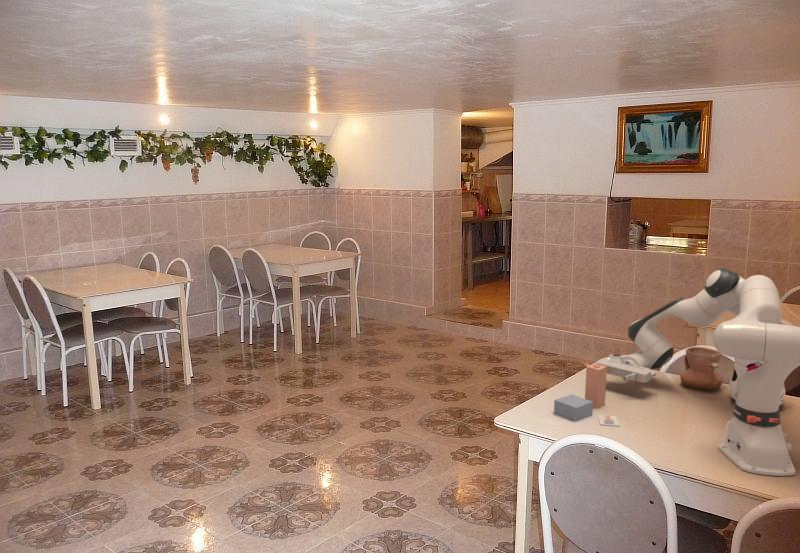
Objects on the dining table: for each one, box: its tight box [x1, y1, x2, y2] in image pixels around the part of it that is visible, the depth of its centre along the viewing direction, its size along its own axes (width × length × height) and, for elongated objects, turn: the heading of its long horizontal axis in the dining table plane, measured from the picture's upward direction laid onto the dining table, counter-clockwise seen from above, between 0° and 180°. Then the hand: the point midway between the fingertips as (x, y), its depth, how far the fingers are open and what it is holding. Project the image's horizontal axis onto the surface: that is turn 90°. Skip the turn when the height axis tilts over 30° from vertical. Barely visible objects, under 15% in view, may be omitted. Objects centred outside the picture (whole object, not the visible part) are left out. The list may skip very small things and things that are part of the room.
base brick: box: [553, 394, 594, 423], centre depth 221 cm, size 9×9×5 cm
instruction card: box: [597, 414, 621, 427], centre depth 216 cm, size 8×6×1 cm
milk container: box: [728, 358, 786, 407], centre depth 230 cm, size 17×17×18 cm
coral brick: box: [584, 363, 608, 409], centre depth 229 cm, size 5×5×14 cm
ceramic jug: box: [680, 346, 723, 391], centre depth 247 cm, size 18×14×14 cm
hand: (612, 375), depth 237 cm, fingers open, 8 cm apart
